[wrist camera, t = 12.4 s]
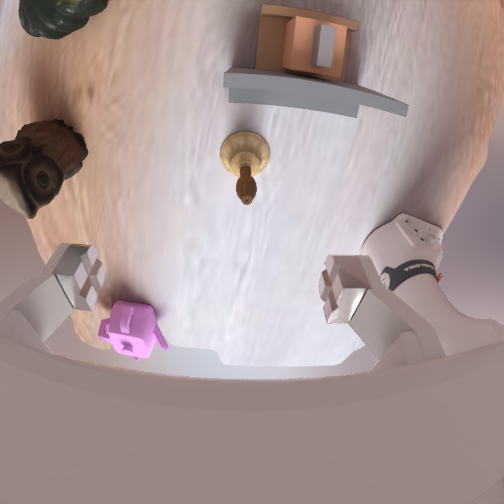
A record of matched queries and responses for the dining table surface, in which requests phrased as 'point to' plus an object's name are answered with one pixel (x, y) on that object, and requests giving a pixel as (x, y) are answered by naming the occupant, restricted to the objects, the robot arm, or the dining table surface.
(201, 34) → the dining table surface
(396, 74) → the dining table surface
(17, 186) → the owl
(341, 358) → the dining table surface
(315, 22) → the tall peach box
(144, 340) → the teakettle
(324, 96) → the board
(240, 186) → the hand bell
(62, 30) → the squash
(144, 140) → the dining table surface
